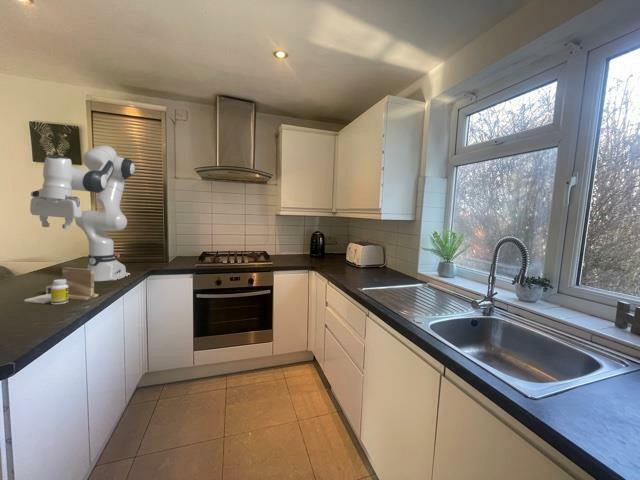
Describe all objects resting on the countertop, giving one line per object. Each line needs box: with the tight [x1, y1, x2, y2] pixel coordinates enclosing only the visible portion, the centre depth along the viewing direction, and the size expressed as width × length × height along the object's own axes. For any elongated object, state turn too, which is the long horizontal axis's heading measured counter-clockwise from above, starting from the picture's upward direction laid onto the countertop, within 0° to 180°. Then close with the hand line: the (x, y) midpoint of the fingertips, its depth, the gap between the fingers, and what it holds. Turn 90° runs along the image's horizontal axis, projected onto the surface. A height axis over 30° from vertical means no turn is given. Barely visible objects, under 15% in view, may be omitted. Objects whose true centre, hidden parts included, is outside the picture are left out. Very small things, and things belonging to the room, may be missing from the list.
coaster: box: [24, 294, 51, 304], centre depth 119 cm, size 9×9×1 cm
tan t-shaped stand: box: [61, 266, 99, 301], centre depth 124 cm, size 6×14×13 cm, turn 85°
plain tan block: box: [45, 283, 54, 294], centre depth 127 cm, size 4×4×4 cm
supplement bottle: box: [50, 278, 69, 305], centre depth 116 cm, size 5×5×10 cm
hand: (55, 227), depth 114 cm, fingers open, 8 cm apart
